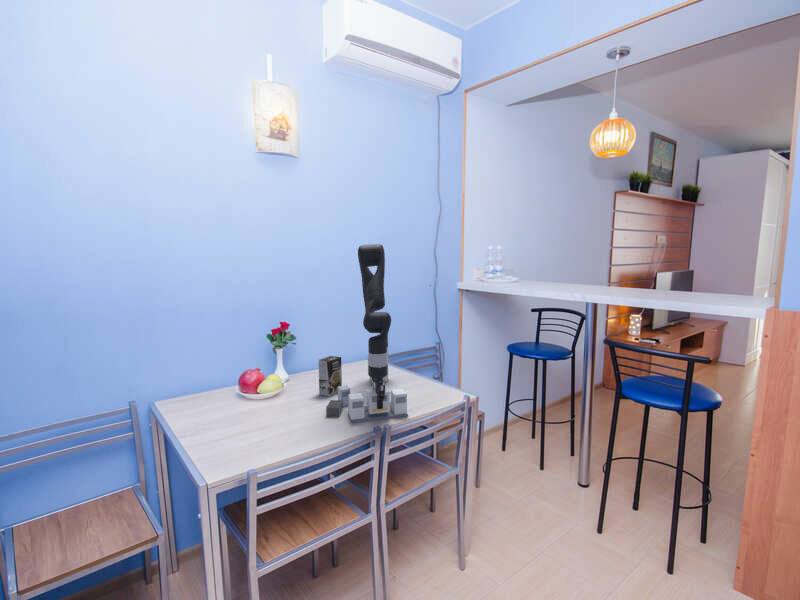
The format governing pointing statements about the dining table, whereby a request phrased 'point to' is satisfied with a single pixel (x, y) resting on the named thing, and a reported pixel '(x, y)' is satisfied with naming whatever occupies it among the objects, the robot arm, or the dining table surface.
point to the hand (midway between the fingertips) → (378, 405)
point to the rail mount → (361, 413)
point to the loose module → (373, 402)
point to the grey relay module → (344, 394)
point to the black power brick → (334, 408)
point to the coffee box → (330, 375)
